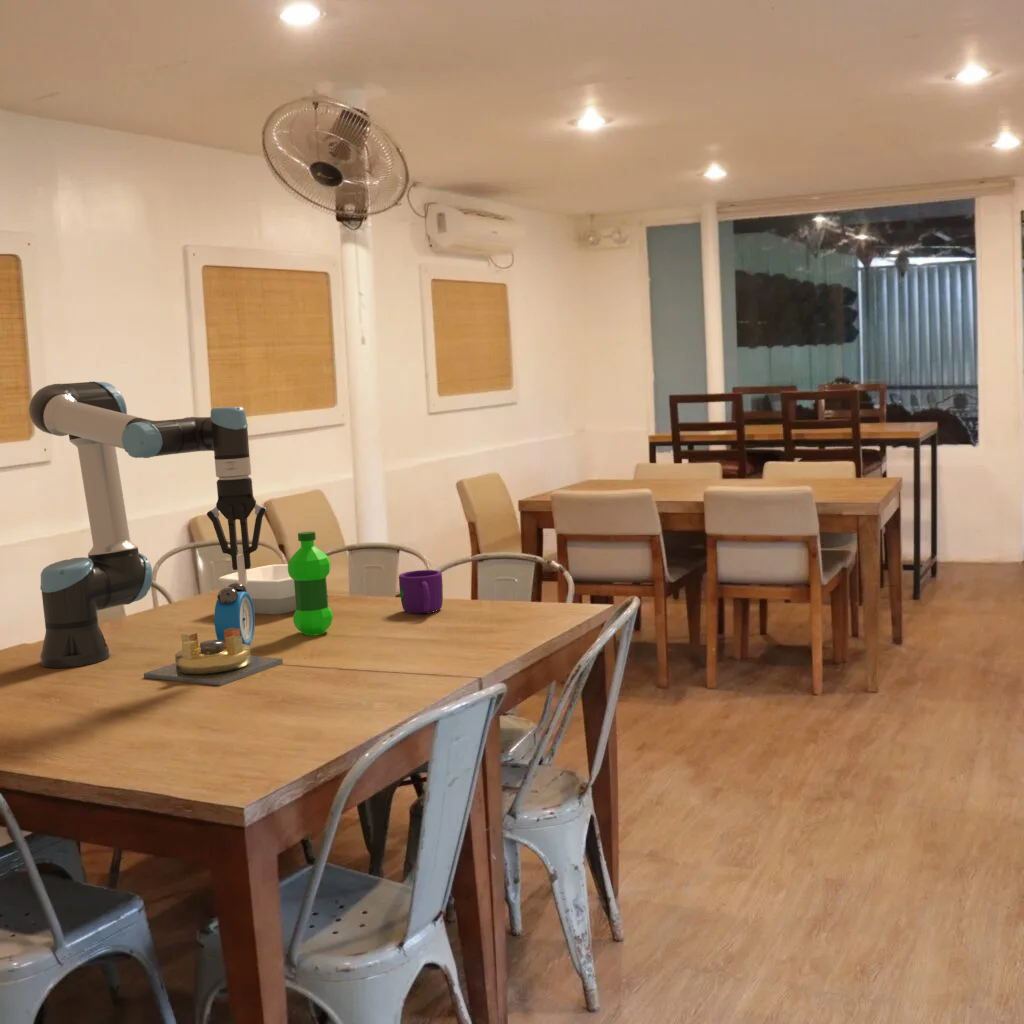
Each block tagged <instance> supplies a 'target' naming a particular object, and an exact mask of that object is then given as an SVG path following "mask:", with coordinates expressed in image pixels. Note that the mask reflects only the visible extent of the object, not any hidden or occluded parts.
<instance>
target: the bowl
mask: <svg viewBox="0 0 1024 1024" xmlns="http://www.w3.org/2000/svg"><path fill="white" fill-rule="evenodd" d="M330 571H331V567H330ZM246 573H247V584H246V585H244V586H245V587H246V589H247V593H248V594H249V595H250V597H251V599H252V602H253V607H254V614H259V615H283V614H287V613H291V612H295V611H296V598H295V585H294V580H293V579H292V578H291V577H290V576H289V573H288V563H286V564H275V563H274V564H269V565H263V566H262V565H261V566H258V567H253V568H250V569H246ZM218 581H219V582H221V584H223V585H224V587H225V588H226V587H227V586H228V585H230V584H232V583H236V582H237V583H239V580H238V571H236V572H233V573H228V574H226V575H222V576H220V577H218Z"/></svg>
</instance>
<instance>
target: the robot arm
mask: <svg viewBox="0 0 1024 1024" xmlns="http://www.w3.org/2000/svg"><path fill="white" fill-rule="evenodd" d="M28 412H29V413H28V414H29V417H30V420H31V422H32V423H33V425H34V426H35V427H36V428H37V429H39V430H40V431H42V432H43V433H46V434H49V435H54V436H58V437H64V436H68V438H69V442H70V443H71V444H73V445H74V446H75V447H76V448H77V452H78V453H77V454H78V459H79V465H80V472H81V477H82V478H81V479H82V484H83V491H84V495H85V504H86V508H87V509H86V510H87V514H88V515H87V516H88V521H89V527H90V535H91V540H92V547H91V549H90V550H89V552H88V553H87V557H73V558H70V559H69V558H68V559H63V560H60V561H59V560H58V561H55V562H53V563H51V564H48V565H46V567H44V568H43V569H42V570H41V572H40V591H41V598H42V609H43V617H44V626H45V634H44V639H43V644H42V650H41V652H40V655H39V656H40V665H41V667H45V668H51V669H52V668H53V669H55V668H56V669H58V668H59V669H61V668H74V667H81V666H87V665H91V664H96V663H99V662H101V661H105V660H106V659H108V658H109V657H110V650H109V648H110V647H109V645H108V643H106V639H105V637H104V634H103V632H102V630H101V627H100V626H99V616H98V611H101V610H105V609H111V608H115V607H119V606H122V605H123V606H125V605H131V604H132V603H135V602H138V601H140V600H142V599H144V598H145V596H147V595H148V592H149V591H150V590H151V587H152V584H153V568H152V565H151V562H150V560H149V561H148V558H147V556H146V555H144V554H143V553H139V546H138V545H136V544H135V543H134V542H132V541H131V537H130V532H129V531H130V530H129V525H128V524H129V523H128V519H127V513H126V506H125V500H124V499H125V498H124V494H123V489H122V488H123V486H122V482H121V473H120V469H119V462H118V456H117V449H116V448H119V449H122V450H124V451H125V453H127V454H128V456H130V457H132V458H135V459H138V458H139V459H140V458H143V459H149V458H153V457H160V456H169V455H177V454H178V455H179V454H187V453H188V454H189V453H194V452H195V453H196V452H206V451H207V452H213V453H214V456H213V457H214V466H215V467H214V469H215V477H216V478H218V479H217V481H216V489H217V491H216V492H217V502H216V504H215V506H214V507H213V509H211V510H208V512H207V513H206V516H207V517H208V519H209V520H210V522H212V525H213V529H214V531H215V533H216V537H217V540H218V542H219V546H220V550H221V551H222V553H223V554H227V555H229V556H230V557H231V564H232V565H231V566H232V571H237V572H238V580H239V585H246V584H247V573H246V570H248V569H251V565H252V564H251V562H252V561H251V553H253V552H256V551H257V549H259V542H260V536H261V529H262V523H263V517H264V515H265V513H266V512H267V507H266V506H262V505H260V504H258V503H257V500H256V499H255V497H254V491H253V479H252V478H251V477H250V476H251V475H252V468H251V467H252V466H251V457H250V445H249V433H248V431H249V430H248V427H249V424H248V422H247V421H248V420H247V414H246V413H247V412H246V410H245V408H244V407H243V406H222V407H221V406H220V407H213V408H212V409H211V410H210V416H204V417H203V416H202V417H199V416H197V417H196V416H189V417H188V416H187V417H184V418H177V419H165V420H163V419H162V420H151V419H149V418H148V419H146V418H142V417H141V416H140V417H139V416H137V415H131V414H128V409H127V403H126V401H125V398H124V396H123V394H122V393H121V391H120V390H119V389H118V388H116V386H115V385H113V384H111V383H109V382H106V381H85V382H70V383H69V382H68V383H52V384H49V385H45V386H43V387H42V388H40V389H38V390H37V391H36V392H35V394H34V395H33V396H32V398H31V399H30V401H29V406H28ZM252 511H254V514H255V521H254V528H253V535H252V540H251V546H250V540H249V539H250V537H249V527H248V518H249V517H250V515H251V513H252ZM219 512H220V513H221V515H223V516H224V518H225V519H226V520H227V524H228V534H229V544H228V541H227V537H226V535H225V532H224V530H223V526H222V523H221V521H220V518H219V517H220V513H219ZM238 520H239V524H240V532H241V533H240V534H241V543H242V544H241V545H242V553H239V549H238V537H237V525H236V523H237V522H236V521H238Z"/></svg>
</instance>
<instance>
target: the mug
mask: <svg viewBox="0 0 1024 1024" xmlns="http://www.w3.org/2000/svg"><path fill="white" fill-rule="evenodd" d="M398 582H399V583H398V584H399V592H400V593H399V595H400V601H401V606H402V609H403V611H404V612H406V613H407V614H410V613H411V614H413V615H422V614H421V613H426V614H430V613H429V612H432V613H434V612H433V611H436V610H438V611H440V610H441V609H442V606H443V601H444V596H443V593H444V591H443V587H444V586H443V585H444V584H443V574H442V571H439V570H434V569H422V570H421V569H419V570H411V571H406V572H403V573H400V574H399V575H398ZM440 608H441V609H440ZM436 612H437V611H436Z"/></svg>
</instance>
